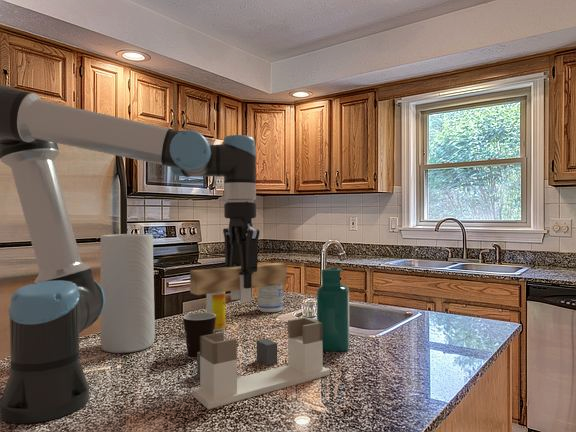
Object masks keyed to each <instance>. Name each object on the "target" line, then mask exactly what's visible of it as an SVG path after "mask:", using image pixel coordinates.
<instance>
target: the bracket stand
mask: <svg viewBox="0 0 576 432" xmlns="http://www.w3.org/2000/svg"><path fill="white" fill-rule="evenodd" d="M224 335H225V334H224V332H223V331H221V332H220V331H219V332H216V333H215V332H214V334H209V335H203V336H200V376H199V378H200V379H199V380H200V382H199V383H200V385H199V387H195V388H192V389H191V395H192V396H193V397H194V399H196V400H197V401H198V403H200V404H202V406H204V407H205V408H206V409H208V410H212V409H215V408H218V407H222V406H225V405H228V404H232V403H236V402H238V401H239V402H240V401H243V400H247V399H250V398H253V397H256V396H260V395H264V394H268V393H271V392H274V391H278V390H282V389H285V388H288V387H291V386H295V385H299V384H302V383H306V382H309V381H312V380H315V379H316V380H317V379H319V378H320V379H321V378H323V377H327V376H330V374H331V373H330V372H331V371H330V369H329V368H327V367H325V366H324V365H323V361H324V360H323V359H324V358H323V357H324V356H323V353H324V352H323V351H324V350H323V342H322V323H321V322H318V321H317V320H314V319H312V318H308V317H305V316H304V317H299V318H294V319H293V318H292V319H289V320H287V352H288V353H287V356H288V359H287V361H288V364H287V365H284V366H279V367H276V368H271V369H268V370H263V371H260V372H255V373H252V374H247V375H244V376H239V377H238V363H237V362H238V358H237V357H238V352H237V351H238V347H237V345H238V344H237V340H238V339H236V338H230V339H224V338H225V337H224Z"/></svg>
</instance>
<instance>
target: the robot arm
mask: <svg viewBox="0 0 576 432" xmlns="http://www.w3.org/2000/svg"><path fill="white" fill-rule="evenodd" d="M58 144H59V145H64V146H69V147H75V148H78V149H84V150H88V151H94V152H98V153H104V154H108V155H114V156H117V157H123V158H127V159H133V160H136V161H142V162H146V163H153V164H158V165H162V166H165V167H170V169H171V172H172V174H173V175H174V176H175V177H184V178H190V177H191V178H193V177H194V178H195V177H199V178H200V177H217V178H219V177H223V179H224V181H223V199H224V200H225V201H226V202H225V203H224V205H223V210H224V211H223V213H224V218H225V219H229V223H228V227H227V228H223V229H222V232H223V238H224V262H225V267H236V266H241V270H242V272H239V274H240V290H234V291H230V300H231V301H235V300H239V303H240V304H244V303H251V302H253V301H252V288H251V287H252V284H251V283H252V282H251V281H252V274H253V272H257V265H259V263H258V261H259V260H258V259H259V258H258V257H259V254H258V253H259V252H258V251H259V237H260V229H259V228H258V229H256V228H254V227H253V222H252V220H253V219H255V218H256V217H257V203H255V202H254V201H256V200H257V194H256V192H257V188H256V184H257V178H256V177H257V171H256V170H257V165H256V164H257V154H256V141H255V139H254V138H253V137H252V136H249V135H246V134H244V135H242V134H234V135H233V134H230V135H227V136H224V138H223V142H222V144H210V142H209V141H208V140H207V138H206V137H205V136H204V135H202V134H201V133H200V132H198V131H196V130H193V129H188V130H182V131H181V130H177V129H173V128H167V127H163V126H158V125H153V124H149V123H145V122H142V121H141V122H140V121H136V120H132V119H128V118H123V117H117V116H113V115H109V114H106V113H101V112H97V111H96V112H95V111H91V110H87V109H84V108H83V109H81V108H78V107H73V106H69V105H65V104H60V103H55V102H52V101H51V102H50V101H46V100H42V98H41V96H39V94H37V93H34V92H30V91H26V90H22V89H18V88H15V87H11V86H9V85H4V84H0V162H1V163H3V165H6V166H8V167H9V168H10V169H11V170H10V171H11V173H12V177H13V181H14V185H15V187H16V188H15V189H16V191H17V195H18V199H19V203H20V207H21V209H22V210H21V211H22V213H23V216H24V220H25V225H26V229H27V231H28V234H29V239H30V243H31V246H32V250H33V253H34V257H35V260H36V263H37V267H38V271H39V274H37V277H35V280H34V282H33V283H30V284H27V285H23V286H21V287H20V288H18V289H16V290H15V291H14V292H13V293H12V295H11V297H10V305H9V309H8V316H9V339H10V340H9V341H10V342H9V344H10V347H9V348H10V350H9V351H10V352H9V353H10V355H9V356H10V372H9V375H8V379H7V381H6V385H5V388H4V390H3V392H2V396H1V399H0V419H1V420H2V421H4V422H6V423H10V424H34V423H42V422H47V421H51V420H54V419H60V418H62V417H65V416H67V415H70V414H72V413H74V412H76V411H77V410H79V409H81V408H82V407H84V406H85V405H87V403H88V402H89V400H90V385H89V382H88V380H87V378H86V375H85V372H84V370H83V366H82V365H81V362H80V334H81V333H82V332H83V331H84V330H86V329H88V328H90V327H91V326H92V325H93V324H94V323H95V322H96V321H97V320H98V319H99V317H100V314H101V313H102V311H103V308H104V304H105V295H104V292H103V289H102V288H101V286H100V283H98V282H97V281H96V280H95V278H94V276H93V272H92V267H91V266H90V265H88V264H86V263H85V262H83V261H82V259H81V256H80V251H79V248H78V243H77V240H76V237H75V233H74V230H73V225H72V222H71V219H70V215H69V211H68V208H67V204H66V200H65V197H64V194H63V193H64V192H63V190H62V189H63V188H62V185H61V181H60V178H59V174H58V170H57V166H56V163H55V160H56V159H57V157H58V156H59V154H60V150H59V146H58Z"/></svg>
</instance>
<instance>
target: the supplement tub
mask: <svg viewBox="0 0 576 432" xmlns="http://www.w3.org/2000/svg"><path fill="white" fill-rule="evenodd" d="M283 299H284V297H283V285H275V286H267V287H258V288H257V309H258V311H259V310H260V311H259V312H262V313H277V312H280V311H283V308H284V306H283V303H284V302H283V301H284V300H283Z"/></svg>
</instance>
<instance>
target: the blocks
mask: <svg viewBox="0 0 576 432" xmlns="http://www.w3.org/2000/svg"><path fill="white" fill-rule="evenodd" d="M256 361H258V362H259V363H261V364H263V365H265V366H267V367H268V366H272V365H276V364H278V342H275V341H273V340H271V339H269V338H262V339H258V340H256ZM196 374H197V375H198V376H199V377H200V352H197V358H196Z"/></svg>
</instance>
